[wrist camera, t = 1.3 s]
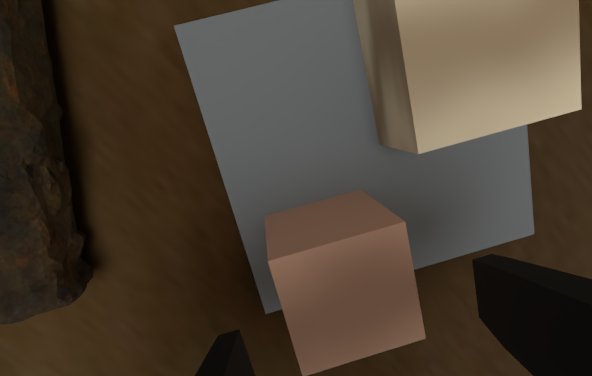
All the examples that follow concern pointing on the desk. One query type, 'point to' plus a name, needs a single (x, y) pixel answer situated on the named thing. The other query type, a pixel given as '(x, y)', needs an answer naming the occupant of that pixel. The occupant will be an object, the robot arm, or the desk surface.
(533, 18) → the beech block
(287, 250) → the terracotta cube
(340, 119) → the rubber mat
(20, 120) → the hand tool
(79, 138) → the desk surface
